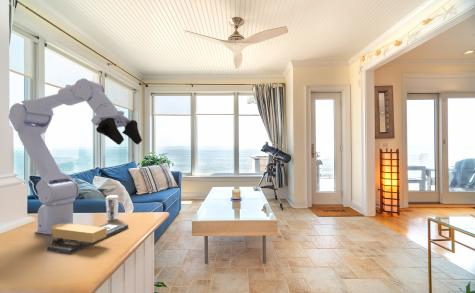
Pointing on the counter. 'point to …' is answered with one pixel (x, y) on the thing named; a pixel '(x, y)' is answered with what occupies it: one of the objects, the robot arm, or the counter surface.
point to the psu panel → (75, 245)
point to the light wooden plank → (78, 232)
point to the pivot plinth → (57, 239)
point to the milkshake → (112, 207)
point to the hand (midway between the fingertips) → (130, 142)
